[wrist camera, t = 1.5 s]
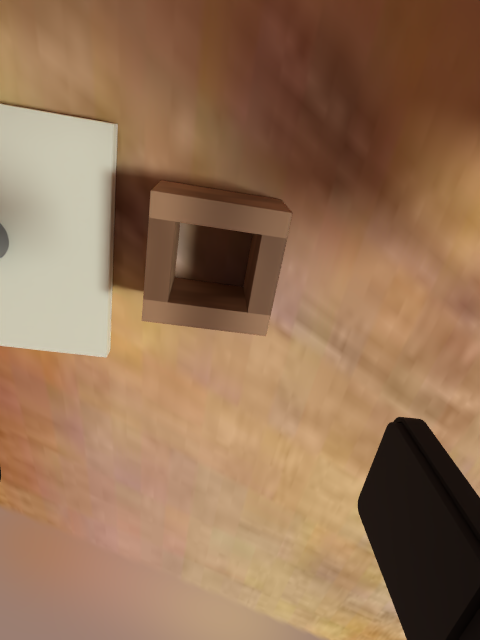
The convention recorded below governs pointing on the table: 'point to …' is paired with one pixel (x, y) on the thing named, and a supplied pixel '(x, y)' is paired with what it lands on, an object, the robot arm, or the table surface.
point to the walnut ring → (206, 297)
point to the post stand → (56, 231)
